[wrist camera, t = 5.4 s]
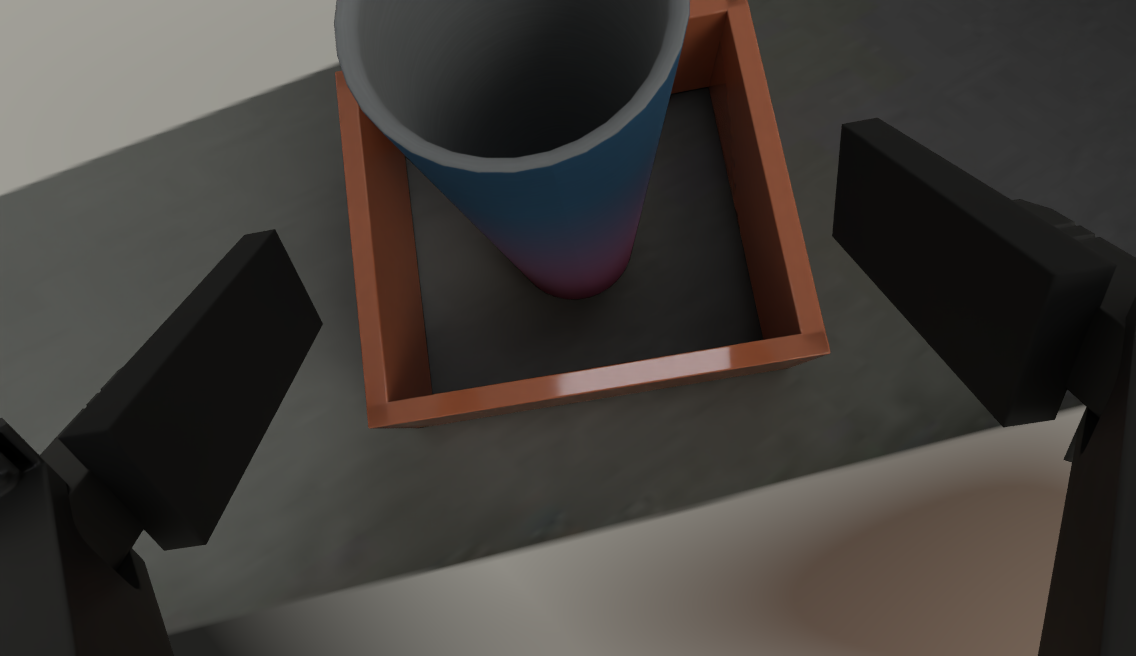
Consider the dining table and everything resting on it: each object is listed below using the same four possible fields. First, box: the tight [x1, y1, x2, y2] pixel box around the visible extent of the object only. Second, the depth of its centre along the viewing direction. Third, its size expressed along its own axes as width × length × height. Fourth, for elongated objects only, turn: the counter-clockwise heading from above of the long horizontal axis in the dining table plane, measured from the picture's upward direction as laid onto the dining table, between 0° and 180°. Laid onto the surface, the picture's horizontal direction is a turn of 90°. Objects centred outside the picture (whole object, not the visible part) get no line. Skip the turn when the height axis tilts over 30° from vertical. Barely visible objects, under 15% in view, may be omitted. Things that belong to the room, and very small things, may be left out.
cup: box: [334, 0, 690, 299], centre depth 19 cm, size 7×7×15 cm
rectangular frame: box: [335, 0, 830, 428], centre depth 23 cm, size 16×14×5 cm
